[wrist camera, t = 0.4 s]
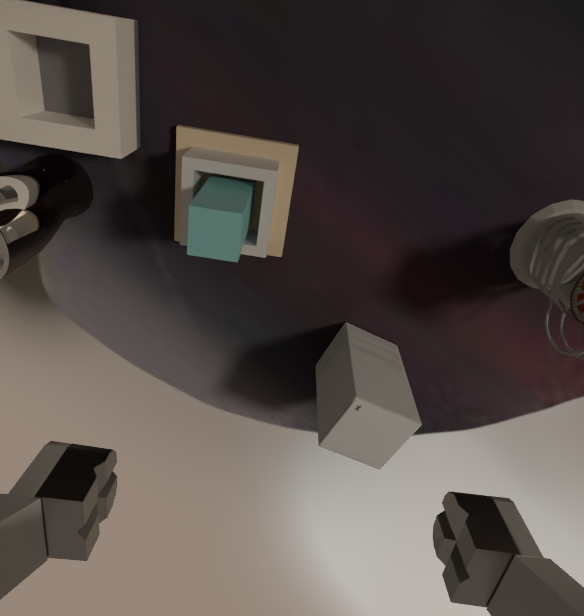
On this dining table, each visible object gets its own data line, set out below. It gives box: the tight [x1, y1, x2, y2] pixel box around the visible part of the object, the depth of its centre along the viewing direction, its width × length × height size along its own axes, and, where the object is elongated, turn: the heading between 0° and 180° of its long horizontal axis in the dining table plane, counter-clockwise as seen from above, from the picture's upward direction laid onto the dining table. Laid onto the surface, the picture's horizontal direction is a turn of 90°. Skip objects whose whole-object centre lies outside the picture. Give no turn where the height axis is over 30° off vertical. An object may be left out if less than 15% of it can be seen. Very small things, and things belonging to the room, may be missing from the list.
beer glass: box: [0, 154, 93, 280], centre depth 37 cm, size 7×7×15 cm
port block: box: [0, 0, 140, 159], centre depth 37 cm, size 10×10×5 cm
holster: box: [174, 125, 299, 258], centre depth 41 cm, size 11×11×5 cm
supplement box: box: [316, 322, 422, 469], centre depth 48 cm, size 7×7×13 cm
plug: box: [187, 173, 256, 262], centre depth 39 cm, size 4×4×10 cm
